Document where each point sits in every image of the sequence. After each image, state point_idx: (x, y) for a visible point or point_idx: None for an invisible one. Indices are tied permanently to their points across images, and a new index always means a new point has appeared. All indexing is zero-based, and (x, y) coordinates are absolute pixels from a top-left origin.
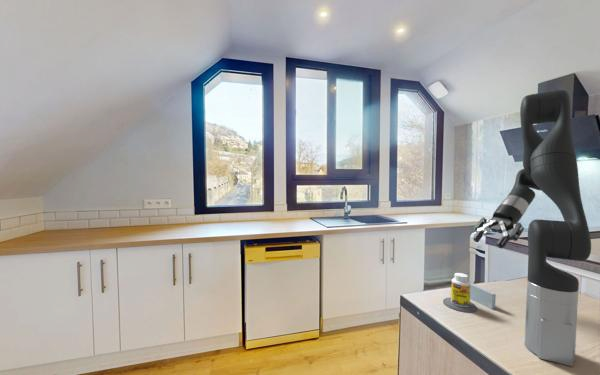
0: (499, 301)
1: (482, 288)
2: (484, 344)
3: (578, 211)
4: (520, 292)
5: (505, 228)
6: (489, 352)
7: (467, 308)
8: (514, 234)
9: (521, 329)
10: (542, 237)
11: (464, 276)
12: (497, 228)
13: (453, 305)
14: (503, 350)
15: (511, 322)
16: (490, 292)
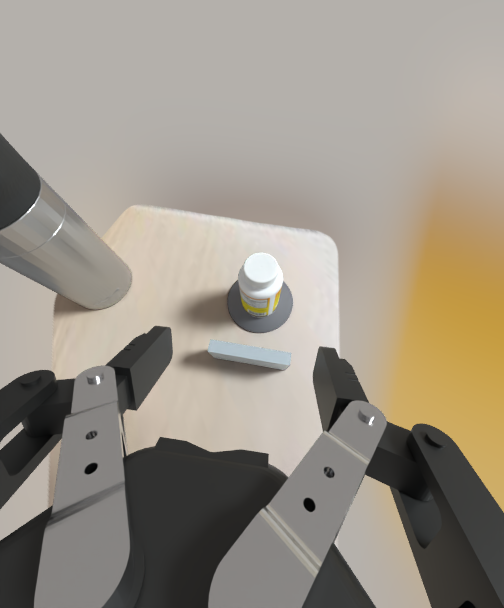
0: (230, 414)
1: (244, 355)
2: (166, 225)
3: None
4: None
5: (65, 437)
6: (154, 215)
7: (240, 297)
8: (6, 386)
9: (148, 315)
10: None
11: (247, 262)
12: (177, 455)
13: None
14: (145, 233)
15: (169, 325)
16: (219, 347)
